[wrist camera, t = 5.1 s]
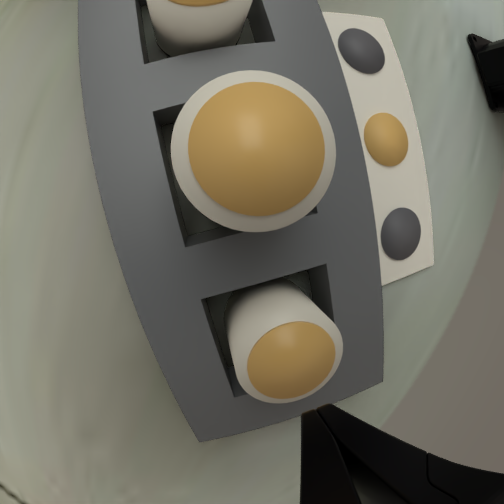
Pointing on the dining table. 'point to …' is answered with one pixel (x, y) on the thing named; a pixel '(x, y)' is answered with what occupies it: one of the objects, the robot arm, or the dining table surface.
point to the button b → (253, 151)
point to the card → (386, 143)
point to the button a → (197, 24)
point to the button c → (280, 341)
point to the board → (226, 239)
